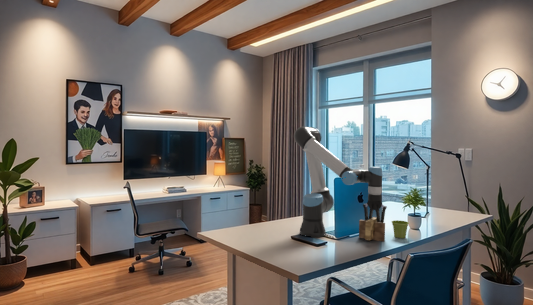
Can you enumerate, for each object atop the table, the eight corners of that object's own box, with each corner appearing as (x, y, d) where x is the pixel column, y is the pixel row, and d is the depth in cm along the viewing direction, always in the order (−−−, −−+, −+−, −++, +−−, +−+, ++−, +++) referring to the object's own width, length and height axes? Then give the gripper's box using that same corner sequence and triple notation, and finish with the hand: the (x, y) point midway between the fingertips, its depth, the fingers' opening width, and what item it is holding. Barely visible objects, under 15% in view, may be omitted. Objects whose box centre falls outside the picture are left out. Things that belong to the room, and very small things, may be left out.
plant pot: (397, 239, 200) (397, 224, 200) (388, 235, 209) (388, 220, 209) (411, 238, 202) (412, 223, 202) (402, 234, 211) (402, 220, 211)
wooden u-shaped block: (358, 237, 204) (359, 220, 203) (360, 236, 205) (360, 219, 205) (383, 241, 196) (384, 223, 196) (384, 240, 198) (385, 222, 197)
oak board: (369, 240, 194) (370, 222, 194) (365, 239, 196) (365, 221, 195) (377, 234, 206) (377, 217, 205) (373, 234, 207) (373, 217, 207)
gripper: (359, 193, 205) (358, 233, 206) (387, 195, 196) (386, 238, 197) (363, 191, 211) (362, 231, 212) (390, 194, 202) (389, 235, 203)
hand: (374, 234), depth 204 cm, fingers open, 3 cm apart
